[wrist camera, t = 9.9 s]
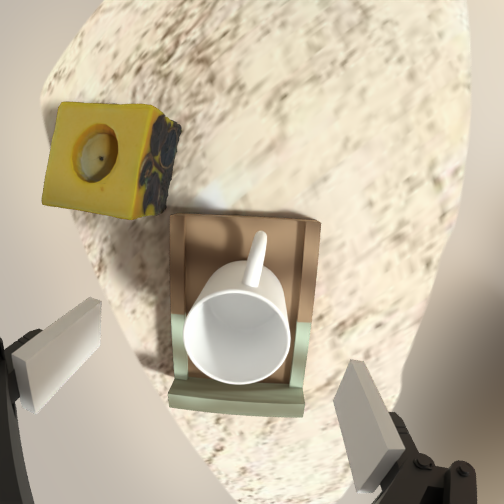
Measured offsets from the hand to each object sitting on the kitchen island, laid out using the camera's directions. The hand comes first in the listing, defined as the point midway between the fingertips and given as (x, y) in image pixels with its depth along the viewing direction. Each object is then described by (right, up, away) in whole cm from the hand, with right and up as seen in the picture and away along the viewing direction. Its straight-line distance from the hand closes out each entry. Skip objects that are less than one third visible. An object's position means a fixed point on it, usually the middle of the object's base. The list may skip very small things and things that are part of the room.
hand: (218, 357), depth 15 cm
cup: (+1, +2, +18) cm, 19 cm away
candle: (-12, +15, +19) cm, 27 cm away
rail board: (+1, -1, +21) cm, 21 cm away
